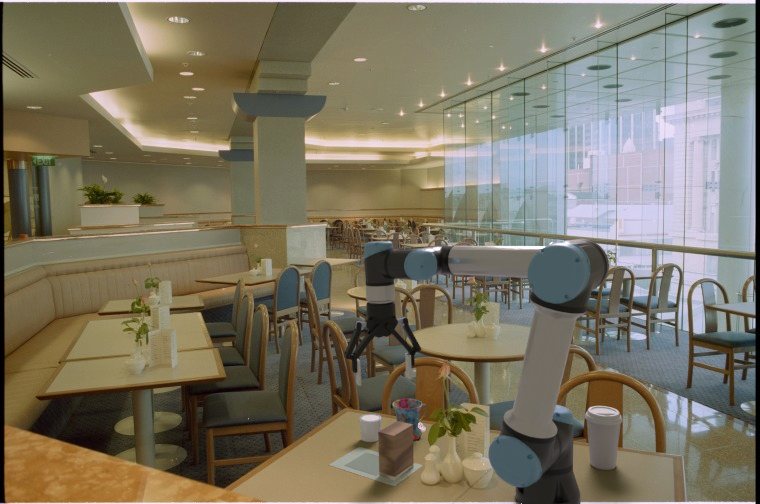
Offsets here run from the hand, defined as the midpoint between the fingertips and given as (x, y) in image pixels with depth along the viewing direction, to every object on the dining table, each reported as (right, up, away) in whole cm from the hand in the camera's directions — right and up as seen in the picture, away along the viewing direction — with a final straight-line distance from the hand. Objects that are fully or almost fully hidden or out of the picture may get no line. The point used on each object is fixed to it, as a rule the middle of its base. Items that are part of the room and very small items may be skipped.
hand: (384, 381), depth 154 cm
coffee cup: (+60, -24, +6) cm, 65 cm away
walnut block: (+3, -25, +4) cm, 25 cm away
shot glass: (-4, -24, +26) cm, 35 cm away
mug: (+9, -23, +28) cm, 37 cm away
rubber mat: (-2, -25, +8) cm, 26 cm away
